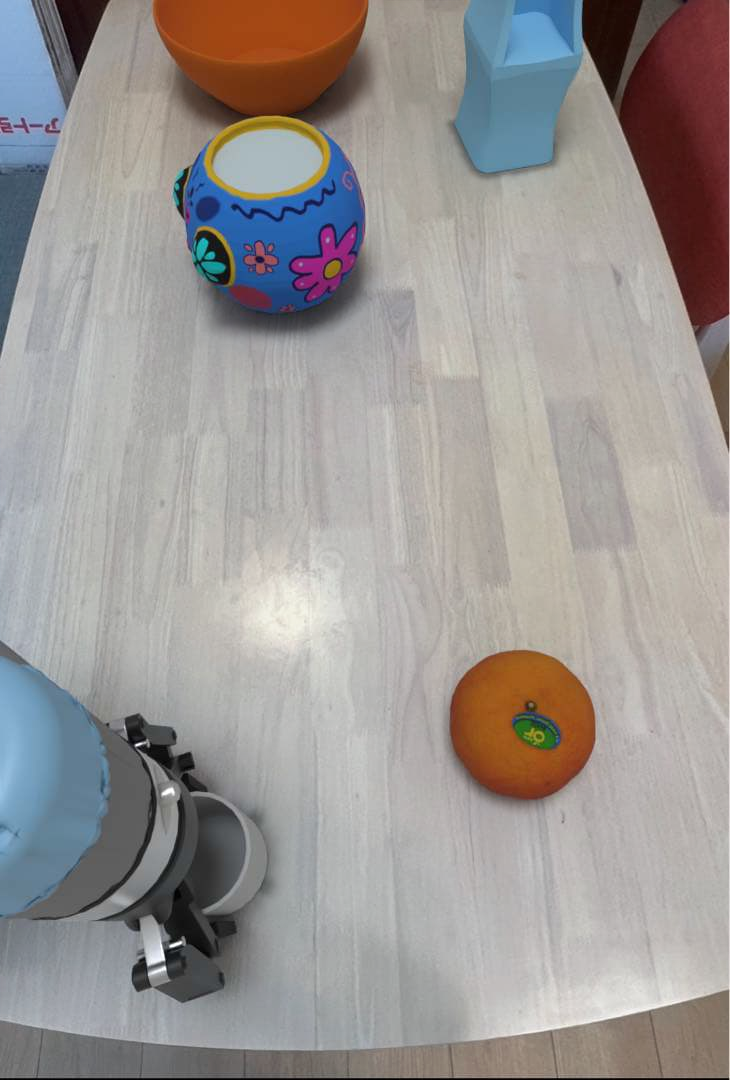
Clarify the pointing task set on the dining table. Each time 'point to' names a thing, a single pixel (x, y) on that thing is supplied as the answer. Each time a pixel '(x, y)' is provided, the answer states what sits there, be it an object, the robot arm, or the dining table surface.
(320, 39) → the bowl
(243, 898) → the cup
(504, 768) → the fruit
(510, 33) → the vase
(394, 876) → the dining table surface
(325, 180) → the ceramic pot
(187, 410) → the dining table surface
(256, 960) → the dining table surface
